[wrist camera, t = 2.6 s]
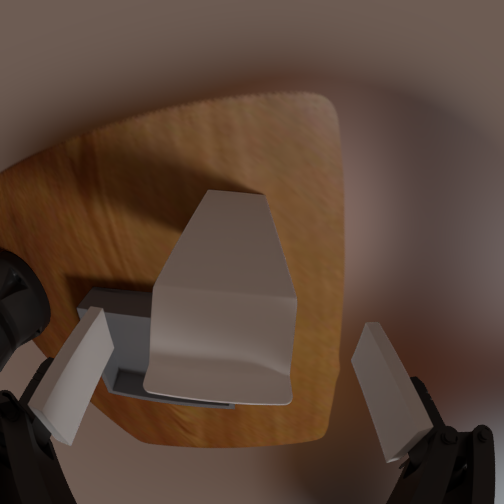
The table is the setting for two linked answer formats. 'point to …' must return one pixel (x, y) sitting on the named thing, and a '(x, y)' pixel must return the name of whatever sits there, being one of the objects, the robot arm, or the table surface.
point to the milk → (224, 308)
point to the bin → (131, 344)
